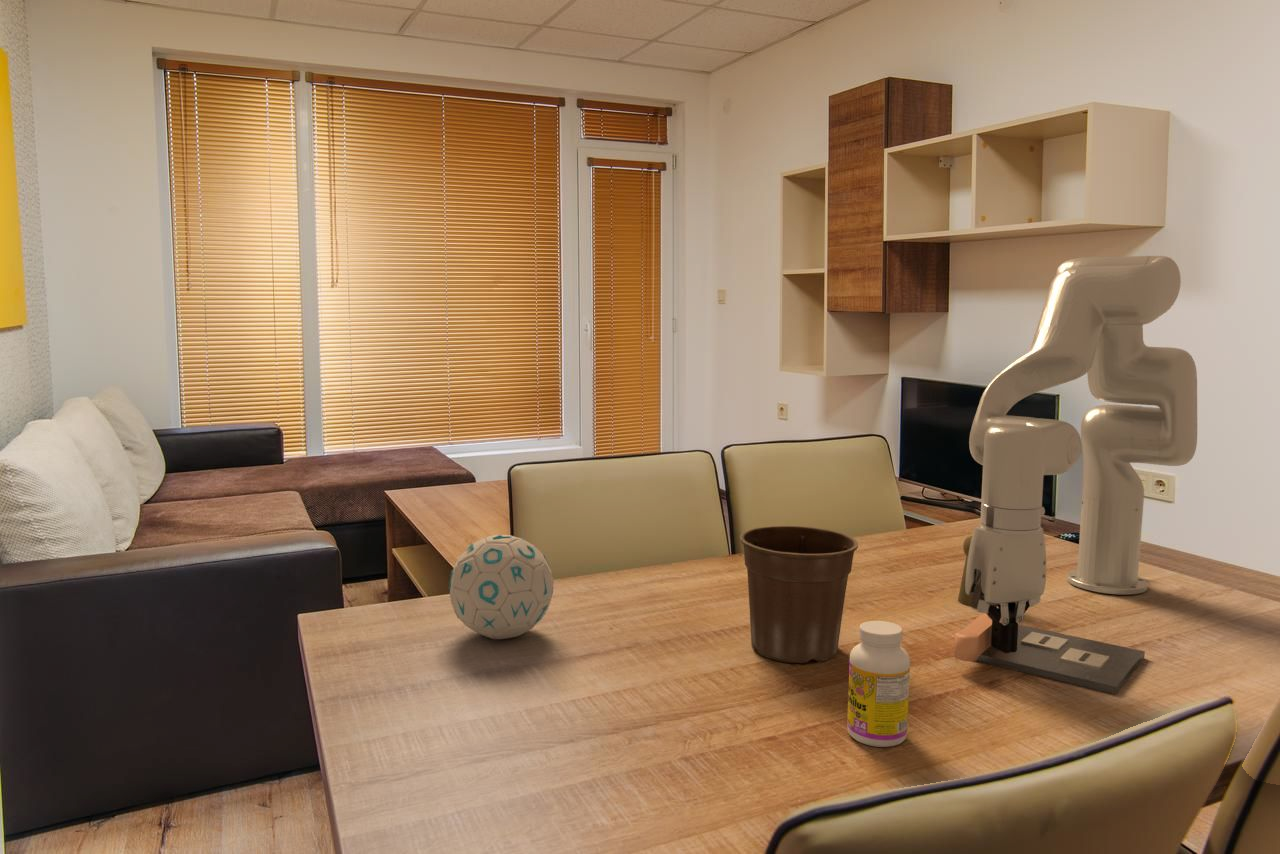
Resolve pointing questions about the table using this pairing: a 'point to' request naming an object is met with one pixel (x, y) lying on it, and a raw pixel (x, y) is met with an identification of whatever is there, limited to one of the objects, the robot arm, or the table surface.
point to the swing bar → (973, 639)
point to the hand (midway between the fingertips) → (1003, 649)
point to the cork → (963, 596)
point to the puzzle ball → (501, 586)
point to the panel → (1068, 659)
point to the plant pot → (797, 590)
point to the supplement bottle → (878, 686)
